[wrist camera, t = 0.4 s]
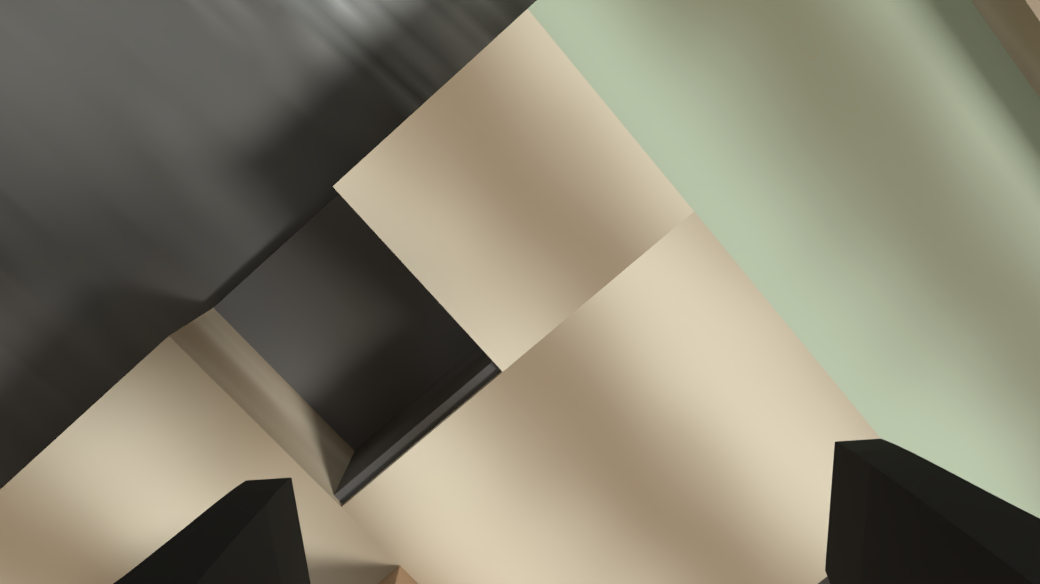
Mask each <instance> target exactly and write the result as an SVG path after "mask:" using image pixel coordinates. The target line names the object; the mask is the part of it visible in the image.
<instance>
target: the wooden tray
mask: <svg viewBox="0 0 1040 584" xmlns="http://www.w3.org/2000/svg"><path fill="white" fill-rule="evenodd" d="M333 187H334V189H335V190H336V191H337V192H338V193H339V194H338V195H337V196H336V197H335V198H334V199H332V200H331V201H330V202H329V203H328V204H327V205H326V206H325V207H324V208H323V209H321V210H320V211H319V212H318V213H317V214H316V215H315V216H314V217H313V218H312V219H310V220H309V221H308V222H307V223H306V224H305V225H304V226H303V227H302V228H301V229H299V230H298V231H297V232H296V233H295V234H294V235H293V236H292V237H291V238H290V239H288V240H287V241H286V242H285V243H284V244H283V245H282V246H281V247H280V248H279V249H277V250H276V251H275V252H274V253H273V254H272V255H271V256H270V257H269V258H268V259H266V260H265V261H264V262H263V263H262V264H261V265H260V266H259V267H258V268H257V269H255V270H254V271H253V272H252V273H251V274H250V275H249V276H248V277H247V278H246V279H244V280H243V281H242V282H241V283H240V284H239V285H238V286H237V287H236V288H235V289H233V290H232V291H231V292H230V293H229V294H228V295H227V296H226V297H225V298H224V299H222V300H221V301H220V302H219V303H218V304H217V305H216V306H215V307H214V308H212V309H211V310H209V311H207V312H206V313H204V314H203V315H201V316H199V317H198V318H196V319H195V320H193V321H192V322H190V323H188V324H187V325H185V326H184V327H182V328H180V329H179V330H177V331H176V332H174V333H172V334H171V335H169V336H168V337H167V338H166V339H165V340H164V341H163V342H161V343H160V344H159V345H158V346H157V347H156V348H155V349H154V350H153V351H152V352H151V353H149V354H148V355H147V356H146V357H145V358H144V359H143V360H142V361H141V362H140V363H138V364H137V365H136V366H135V367H134V368H133V369H132V370H131V371H130V372H129V373H127V374H126V375H125V376H124V377H123V378H122V379H121V380H120V381H119V382H118V383H117V384H115V385H114V386H113V387H112V388H111V389H110V390H109V391H108V392H107V393H106V394H104V395H103V396H102V397H101V398H100V399H99V400H98V401H97V402H96V403H95V404H94V405H92V406H91V407H90V408H89V409H88V410H87V411H86V412H85V413H84V414H83V415H81V416H80V417H79V418H78V419H77V420H76V421H75V422H74V423H73V424H72V425H70V426H69V427H68V428H67V429H66V430H65V431H64V432H63V433H62V434H61V435H60V436H58V437H57V438H56V439H55V440H54V441H53V442H52V443H51V444H50V445H49V446H47V447H46V448H45V449H44V450H43V451H42V452H41V453H40V454H39V455H38V456H36V457H35V458H34V459H33V460H32V461H31V462H30V463H29V464H28V465H27V466H26V467H24V468H23V469H22V470H21V471H20V472H19V473H18V474H17V475H16V476H15V477H13V478H12V479H11V480H10V481H9V482H8V483H7V484H6V485H5V486H4V487H2V488H1V489H0V584H113V583H115V582H116V581H117V580H119V579H120V578H122V577H123V576H124V575H126V574H127V573H128V572H130V571H131V570H132V569H133V568H135V567H136V566H137V565H138V564H140V563H141V562H142V561H143V560H145V559H146V558H147V557H149V556H150V555H151V554H152V553H154V552H155V551H156V550H157V549H159V548H160V547H161V546H162V545H164V544H165V543H166V542H167V541H169V540H170V539H171V538H172V537H174V536H175V535H176V534H177V533H179V532H180V531H181V530H182V529H184V528H185V527H186V526H187V525H189V524H190V523H191V522H192V521H193V520H195V519H196V518H197V517H198V516H200V515H201V514H202V513H203V512H205V511H206V510H207V509H208V508H210V507H211V506H212V505H213V504H215V503H216V502H217V501H218V500H220V499H221V498H222V497H224V496H225V495H226V494H227V493H229V492H230V491H231V490H233V489H234V488H236V487H237V486H238V485H240V484H241V483H243V482H244V481H246V480H261V479H276V478H292V484H293V489H294V495H295V500H296V506H297V511H298V517H299V522H300V528H301V533H302V539H303V544H304V550H305V555H306V561H307V566H308V572H309V577H310V583H311V584H378V583H379V582H380V581H381V580H383V579H384V578H385V577H386V576H388V575H389V574H390V573H391V572H392V571H394V570H395V569H396V568H397V567H399V566H401V567H402V568H403V569H404V570H405V571H406V572H407V573H408V574H409V575H410V576H411V577H412V578H413V579H414V580H415V581H416V582H417V583H418V584H830V582H829V579H828V577H827V574H826V572H825V564H826V551H827V538H828V525H829V512H830V498H831V485H832V472H833V459H834V446H835V442H837V441H852V440H867V439H883V440H886V441H888V442H891V443H893V444H895V445H898V446H900V447H902V448H904V449H906V450H908V451H910V452H912V453H914V454H916V455H918V456H920V457H922V458H924V459H926V460H928V461H930V462H932V463H934V464H936V465H938V466H940V467H942V468H944V469H945V470H947V471H949V472H951V473H953V474H955V475H957V476H959V477H961V478H963V479H964V480H966V481H968V482H970V483H972V484H974V485H976V486H978V487H980V488H982V489H983V490H985V491H987V492H989V493H991V494H993V495H995V496H997V497H999V498H1001V499H1003V500H1005V501H1006V502H1008V503H1010V504H1012V505H1014V506H1016V507H1018V508H1020V509H1022V510H1024V511H1026V512H1028V513H1030V514H1032V515H1034V516H1036V517H1038V518H1040V0H537V1H535V2H534V3H533V4H532V5H531V6H530V7H529V8H528V9H527V10H526V11H524V12H523V13H522V14H521V15H520V16H519V17H518V18H517V19H516V20H515V21H513V22H512V23H511V24H510V25H509V26H508V27H507V28H506V29H505V30H504V31H503V32H501V33H500V34H499V35H498V36H497V37H496V38H495V39H494V40H493V41H492V42H490V43H489V44H488V45H487V46H486V47H485V48H484V49H483V50H482V51H481V52H480V53H478V54H477V55H476V56H475V57H474V58H473V59H472V60H471V61H470V62H469V63H467V64H466V65H465V66H464V67H463V68H462V69H461V70H460V71H459V72H458V73H456V74H455V75H454V76H453V77H452V78H451V79H450V80H449V81H448V82H447V83H446V84H444V85H443V86H442V87H441V88H440V89H439V90H438V91H437V92H436V93H435V94H433V95H432V96H431V97H430V98H429V99H428V100H427V101H426V102H425V103H424V104H422V105H421V106H420V107H419V108H418V109H417V110H416V111H415V112H414V113H413V114H412V115H410V116H409V117H408V118H407V119H406V120H405V121H404V122H403V123H402V124H401V125H399V126H398V127H397V128H396V129H395V130H394V131H393V132H392V133H391V134H390V135H388V136H387V137H386V138H385V139H384V140H383V141H382V142H381V143H380V144H379V145H378V146H376V147H375V148H374V149H373V150H372V151H371V152H370V153H369V154H368V155H367V156H365V157H364V158H363V159H362V160H361V161H360V162H359V163H358V164H357V165H356V166H354V167H353V168H352V169H351V170H350V171H349V172H348V173H347V174H346V175H345V176H344V177H342V178H341V179H340V180H339V181H338V182H337V183H336V184H335V185H334V186H333Z"/></svg>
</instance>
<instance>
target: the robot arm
mask: <svg viewBox="0 0 1040 584" xmlns="http://www.w3.org/2000/svg"><path fill="white" fill-rule="evenodd" d="M825 572H826V574H827V577H828V579H829V582H830V584H1040V518H1038V517H1036V516H1034V515H1032V514H1030V513H1028V512H1026V511H1024V510H1022V509H1020V508H1018V507H1016V506H1014V505H1012V504H1010V503H1008V502H1006V501H1005V500H1003V499H1001V498H999V497H997V496H995V495H993V494H991V493H989V492H987V491H985V490H983V489H982V488H980V487H978V486H976V485H974V484H972V483H970V482H968V481H966V480H964V479H963V478H961V477H959V476H957V475H955V474H953V473H951V472H949V471H947V470H945V469H944V468H942V467H940V466H938V465H936V464H934V463H932V462H930V461H928V460H926V459H924V458H922V457H920V456H918V455H916V454H914V453H912V452H910V451H908V450H906V449H904V448H902V447H900V446H898V445H895V444H893V443H891V442H888V441H886V440H883V439H867V440H852V441H837V442H835V446H834V459H833V472H832V485H831V498H830V512H829V525H828V538H827V551H826V564H825ZM113 584H311V583H310V577H309V572H308V566H307V561H306V555H305V550H304V544H303V539H302V533H301V528H300V522H299V517H298V511H297V506H296V500H295V495H294V489H293V484H292V478H276V479H261V480H246V481H244V482H243V483H241V484H240V485H238V486H237V487H236V488H234V489H233V490H231V491H230V492H229V493H227V494H226V495H225V496H224V497H222V498H221V499H220V500H218V501H217V502H216V503H215V504H213V505H212V506H211V507H210V508H208V509H207V510H206V511H205V512H203V513H202V514H201V515H200V516H198V517H197V518H196V519H195V520H193V521H192V522H191V523H190V524H189V525H187V526H186V527H185V528H184V529H182V530H181V531H180V532H179V533H177V534H176V535H175V536H174V537H172V538H171V539H170V540H169V541H167V542H166V543H165V544H164V545H162V546H161V547H160V548H159V549H157V550H156V551H155V552H154V553H152V554H151V555H150V556H149V557H147V558H146V559H145V560H143V561H142V562H141V563H140V564H138V565H137V566H136V567H135V568H133V569H132V570H131V571H130V572H128V573H127V574H126V575H124V576H123V577H122V578H120V579H119V580H117V581H116V582H115V583H113Z"/></svg>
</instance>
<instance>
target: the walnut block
mask: <svg viewBox="0 0 1040 584" xmlns="http://www.w3.org/2000/svg"><path fill="white" fill-rule="evenodd" d="M378 584H418V583H417V582H416V581H415V580H414V579H413V578H412V577H411V576H410V575H409V574H408V573H407V572H406V571H405V570H404V569H403V568H402V567H401V566H399V567H397V568H396V569H395V570H394V571H392V572H391V573H390V574H389V575H388V576H386V577H385V578H384V579H383V580H381V581H380V582H379V583H378Z"/></svg>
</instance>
